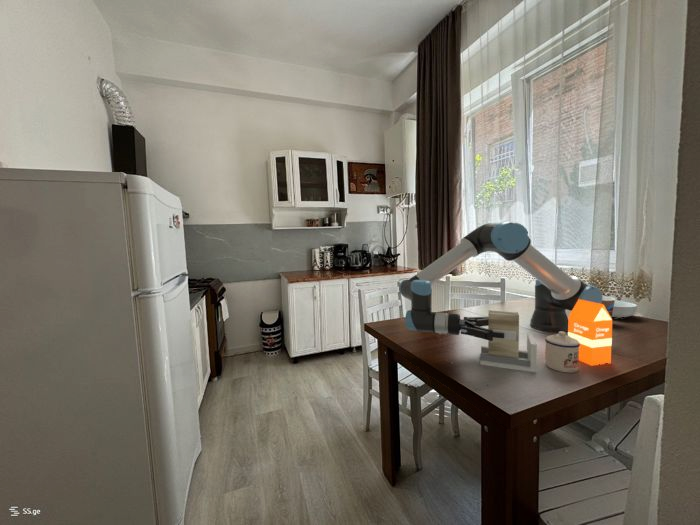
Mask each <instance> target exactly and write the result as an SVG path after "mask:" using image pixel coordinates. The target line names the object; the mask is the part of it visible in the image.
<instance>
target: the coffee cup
mask: <svg viewBox="0 0 700 525" xmlns="http://www.w3.org/2000/svg"><path fill="white" fill-rule="evenodd" d="M615 301H617V300H616V298H615V297H613V296H612V297H611V296H605V295H602V303H601V304H603V305H604V306H605V308H606V310H607V312H608V313H609V315H610V317H611V318H612V313H613V308H614V302H615ZM612 319H613V318H612Z"/></svg>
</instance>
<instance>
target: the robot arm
mask: <svg viewBox="0 0 700 525" xmlns="http://www.w3.org/2000/svg"><path fill="white" fill-rule="evenodd" d="M528 234H529V231H528V229H527V228H526V226H524V225H523V224H521V223H519V222H517V221H510V220H509V221H501V222H500V221H499V222H493V223H490V222H489V223H484V224H482V225H480V226H478V227H477V228H475V229H474V230H472V231H470V232H469V233H467V235H465V236H464V237H462V238H461V239H460V240H459V243H458V244H456V245H455V246H454V247H453V248H451V249H450V250H448V251H447V252H445V253H444V254H443V255H442V256H440V257H438V258H437V259H436V260H434V261H432V262H431V263H430V264H429V265H428V266H426V267H425V268H423V269H422V270H421V271H419V272H418V273H416V274H414V275H413V276H411V278H409V279H403V280H402V281H401V282H400V283H399V284H398V291H399V293H400V295H401V296H402V297H403V298H405V299H407V300H409V301H410V303H411V309H409V310H407V311H406V312H405V319H404V320H405V321H404V322H405V327H406V328H407V329H408V330H410V331H416V332H425V333H434V334H435V333H437V334H438V335H442V334H445V335H447V334H449V335H454V336H459V335H460V334H461V335H466V336H471V337H474V338H479V339H482V340H486V341H488V340H489V341H493V338H496V339H506V340H515V341H516V331H505V330H495V329H493V331H492V330H489V329H488V328H486V327H487V326H488V316H463V318H462V319H461V315H460V314H459V313H449V314H448V313H447V312H437V311H436V312H435V311H432V304H433V303H432V296H433V294H432V293H433V289H432V286H433V285H434V284H435V283H437V282H439V281H440V280H441V279H443V278H444V277H445V276H447V275H448V274H450V273H451V272H452V271H453V270H455V269H456V268H458V267H459V266H461V265H462V264H463V263H465V262H467V261H468V260H469V259H470V258H476V257H477V256H479V255H481V254H483V253H486V252H489V253H490V252H491V253H496V254H498V255H499V256H501V257H502V258H503V260H505V261H507V262H509V261H510V262H512V261H513V262H515V264H516V265H518V266H520V267H521V268H522V269H523V270H525V271H526V272H527V273H528V274H530V275H531V276H532V277H534V278H535V279H536V280H535V284H534V285H535V286H534V311H533V313H532V316H531V318H530V322H529V325H530V326H531V327H532V328H534V329H537V330H541V331H546V332H554V333H559V332H560V331H563V332H564V331H565V332H568V319H569V317H568V316H567V312H566V310H567V311H570V312H571V311H572V310H573V308H574V306H575V305H576V303H577V301H578V300H579V299H580V300H585V301H590V302H594V303H599V304H601V303H602V296H603V293H602V291H601V289H600V288H599V287H597V286H594V285H592V284H590V285H589V284H587V283H585V282H584V281H583V280H581V279H580V278H579V277H577V276H575V275H569V274H568V273H566V272H565V271H563V270H562V269H561V268H560V267H559V266H558V265H557V264H555V263H554V262H553V261H552V260H550V259H549V258H548V257H546V256H545V255H544V254H543V253H542V252H540V251H539V249H537V248H536V247H534V246H533V245H532V240H531V238H530V236H529V235H528Z"/></svg>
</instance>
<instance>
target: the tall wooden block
mask: <svg viewBox="0 0 700 525" xmlns="http://www.w3.org/2000/svg"><path fill="white" fill-rule="evenodd" d="M487 313H488V315H487V317H488V328H487V329H489V330H492V331H493V329H495V330H505V331H516V341H515V340H506V339H496V338H493V341H489V340H487V343H488V344H487V345H488V346H487V347H488V354H491V355H498V356H506V357H514V358H519V351H520V350H519V349H520V346H519V344H520V340H519V339H520V314H519V312H516V311H507V310H506V311H503V310H488V312H487Z"/></svg>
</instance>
